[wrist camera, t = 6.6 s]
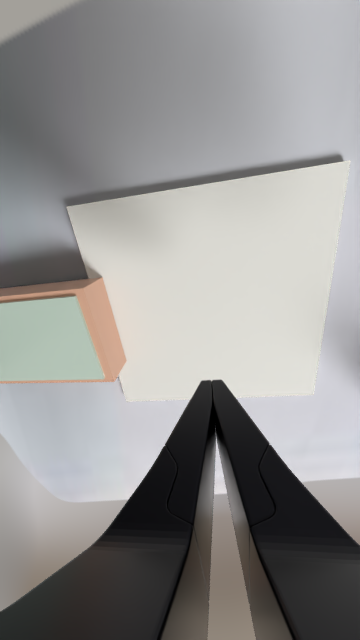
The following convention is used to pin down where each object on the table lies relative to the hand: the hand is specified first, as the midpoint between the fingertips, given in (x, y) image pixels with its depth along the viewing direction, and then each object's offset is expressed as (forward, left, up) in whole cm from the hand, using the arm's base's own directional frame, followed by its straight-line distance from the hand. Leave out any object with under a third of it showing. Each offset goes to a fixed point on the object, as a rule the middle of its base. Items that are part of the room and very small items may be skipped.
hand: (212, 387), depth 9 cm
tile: (-7, 0, -6) cm, 9 cm away
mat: (0, 0, -8) cm, 8 cm away
